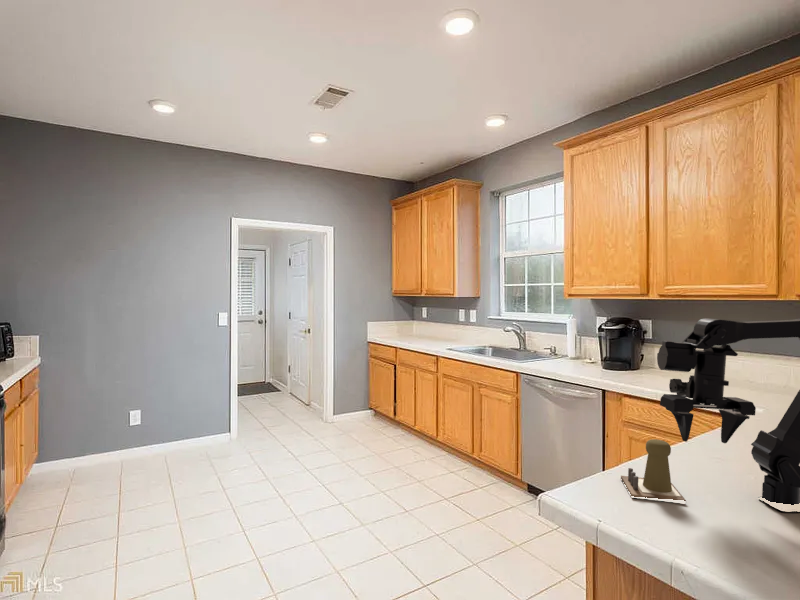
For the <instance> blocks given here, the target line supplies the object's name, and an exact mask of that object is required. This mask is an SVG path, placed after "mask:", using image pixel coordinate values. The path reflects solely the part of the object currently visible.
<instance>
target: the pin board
mask: <svg viewBox="0 0 800 600" xmlns="http://www.w3.org/2000/svg"><path fill="white" fill-rule="evenodd" d="M627 473H628V474H627V475H628V476H627V475H620V480H621V479H622V481H623V482H624V484H625V485H626V487H627V489H628V491H629V492H630V494H631V496H634V497H645V498H646V497H647V498H658V499H673V500H684V501H686V502H687V500H686V499H685V497H684V495H682V494H681V493H680V491H679V490H678V489H677V488H676V486H675V485H674V484H673V483H672V482H671V486H672V491H671V492H668V493H661V492H655V491H652V490H649V489H647V488H645V487H644V486H643V480H644V477H639V476H638V475H636V472H634V469H633V468H631V467H628V469H627ZM622 481H621V482H622ZM624 484H623V485H624ZM628 491H627V492H628ZM631 496H630V497H631Z"/></svg>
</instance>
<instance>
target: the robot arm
mask: <svg viewBox="0 0 800 600" xmlns="http://www.w3.org/2000/svg"><path fill="white" fill-rule="evenodd" d="M781 338H782V339H783V338H784V339H785V338H787V339H788V338H798V340H799V341H800V318H795V319H786V320H785V319H783V320H780V319H779V320H777V319H776V320H757V321H756V320H755V321H753V320H752V321H734V320H729V319H728V320H727V319H718V318H711V317H710V318H708V317H704V318H701V319H699V320H697V321H696V323H695V325H694V326H693V330H692V331H691V332H690V333H689V334H688V335H687V336H686V338H685V339H684V340H682V342H679V341H671V340H662V342H661V345H660V347H659V349H658V353H657V355H656V361H657V362H656V363H657V366H658V369H659V370H661V371H669V372H670V371H672V372H683V373H690V372H691V371H692V370H694V373H693V375H690V376H689V378H688V381H687V382H686V381H683V380H682V379H681V378H672V379H671V378H670V379H669V383H668V384H669V391H670V393H669V394H668V393H664V394H662V396H661V397H660V402H659V405H660V407H663V408H665V410H666V411H668V412H671V415H673V417H674V419H675V422H676V424H677V427H678V430H679V433H680V436H681V439H682V441H684V443H685V442H688V441H689V438H690V433H691V429H692V426H693V425H692V424H693V421H694V416H695V415H694V413H691V412H692V411H693V410H694V409H709V410H710V409H712V410H713V409H714V410H718V412H719V414H720V416H721V427H720V428H721V429H720V441H721V443H723V444H727V443H728V442H729V441H730V439H731V437H733V435H734V433H735V432H736V431H737V430H738V429H739V428H740V426H741V425H742V424H744V422H745V421H746V420H749V419H750V416H756V410H757V408H756V406H755V404H754V402H753V401H749V400H747V399H744V398H739V397H736V396H733V397H732V396H724V391H725V390H724V389H725V386H727V387H729V385H730V384H729V383H730V381H729V380H725V379H726V378H725V377H726V376H725V375H726V362H727V356H729V357H737V356H738V355H739V354H738V353H737V351H735V350H734V349H733V348H732V347H731V345H730V344H735V343H739V342H742V341H745V340H753V339H754V340H757V339H758V340H759V339H781ZM674 393H675V394H674ZM750 445H751V446H752V448H751V451H750V452H751V455H752V459H753V461H755V463H757V464H758V466H759V469H760V471H761V472H764V473H766V474H763V475H764V476H763V482H762V484H761V485H762V487H761V488H762V490H761V497H762V498H765V499H766V500H768V501H770V502H776V503H783V504H791V505H794V504H799V503H800V389H799V390H798V391H797V393H796V395H795V396H794V398H793V400H792V401H791V403H790V404H789V406H788V408H787V410H786V411H785V413H784V415H783V416H782V418H781V419H780V421H779V423H778V424H777V425H776V427H775V428H774V429H772V430H771V431H769V432H767V431H765V430H760V431H759V432H758V434H757V436H756V439H755V440H754V441H753V442H752V443H750Z"/></svg>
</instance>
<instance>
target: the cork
mask: <svg viewBox="0 0 800 600" xmlns="http://www.w3.org/2000/svg"><path fill="white" fill-rule="evenodd" d="M645 451H646V452H647V458H646V463H645V469H644V475H643V478H644V480H643V486H644V487H645V488H647V489H649V490H652V491H655V492H661V493H668V492H671V491H672V486H671V483H672V479H671V472H670V462H669V456H671V453H672V447H671V445H670V443H669V442H667V441H665V440H661V439H656V438H655V439H651V438H650V439H649V440H647V441H646V442H645Z"/></svg>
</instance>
